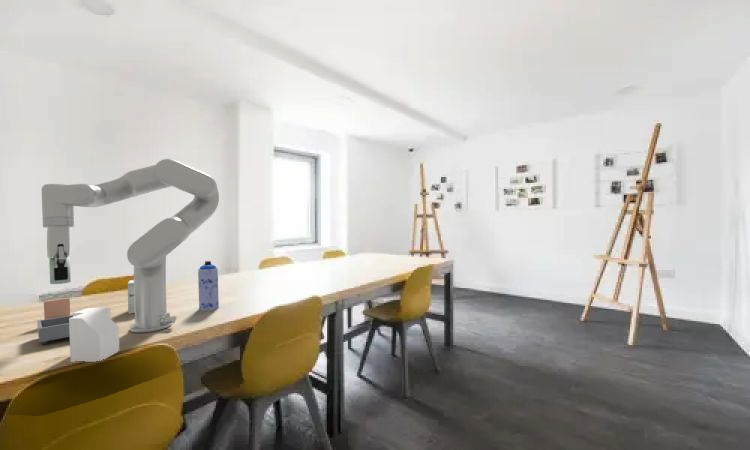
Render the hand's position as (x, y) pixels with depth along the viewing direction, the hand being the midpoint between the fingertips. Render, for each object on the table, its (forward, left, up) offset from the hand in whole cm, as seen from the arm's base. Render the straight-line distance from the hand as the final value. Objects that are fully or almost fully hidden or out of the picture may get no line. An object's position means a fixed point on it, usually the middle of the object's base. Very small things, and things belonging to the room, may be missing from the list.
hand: (60, 278), depth 115 cm
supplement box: (-2, -32, -20) cm, 37 cm away
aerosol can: (-29, -37, -20) cm, 51 cm away
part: (0, 0, -1) cm, 1 cm away
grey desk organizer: (+6, -5, -19) cm, 21 cm away
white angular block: (-22, +12, -20) cm, 32 cm away
